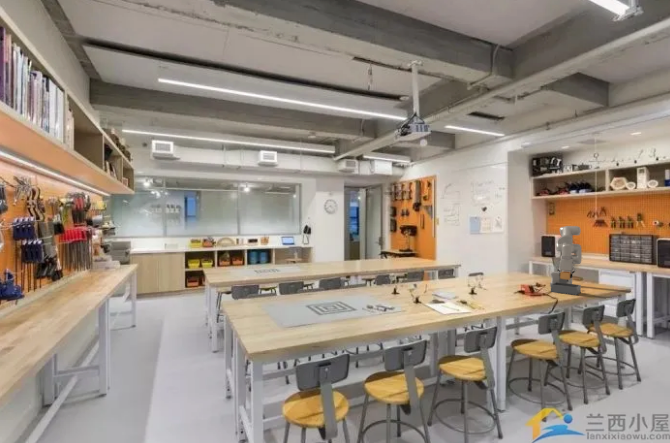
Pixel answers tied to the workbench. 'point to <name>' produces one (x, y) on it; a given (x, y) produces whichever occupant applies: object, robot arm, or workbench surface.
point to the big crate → (566, 288)
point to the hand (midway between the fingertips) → (565, 277)
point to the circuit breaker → (556, 278)
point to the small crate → (565, 275)
